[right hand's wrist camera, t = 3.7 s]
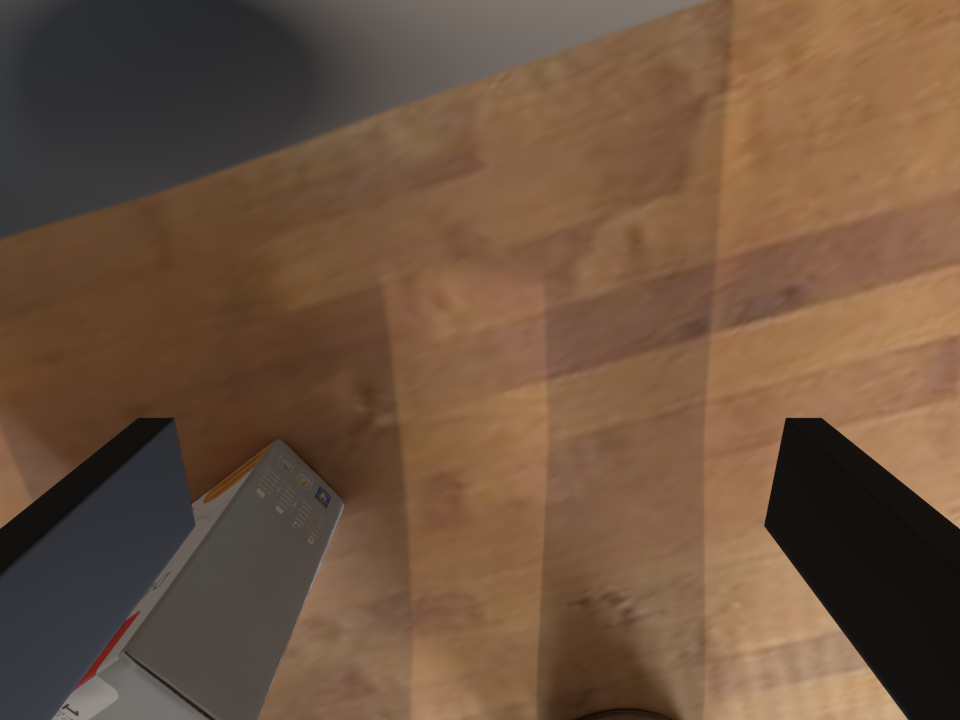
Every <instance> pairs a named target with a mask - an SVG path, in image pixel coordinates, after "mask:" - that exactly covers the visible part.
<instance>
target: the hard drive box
mask: <svg viewBox="0 0 960 720" xmlns="http://www.w3.org/2000/svg"><path fill="white" fill-rule="evenodd" d="M343 503H344V501H343V499H342V498H340V497H339V495H338V494H337V493H336V492H335V491H334V490H332V489H331V488H330V487H329V486H328V485H327V484H326V483H325V482H324V481H323V480H322V479H321V478H320V477H319V476H318V475H317V474H316V473H315V472H314V471H313V470H312V469H311V468H310V467H309V466H308V465H307V464H306V463H305V462H304V461H303V460H302V459H301V458H300V457H299V456H298V455H297V454H296V453H295V452H294V451H293V450H292V449H291V448H289V447H288V446H287V445H286V444H285V443H284V442H283V441H282V440H281V439H276V440H275V441H273V442H272V443H270V444H269V445H268V446H266V447H265V448H264V449H263V450H261V451H260V452H259V453H257V454H256V455H255V456H254V457H252V458H251V459H249V460H248V461H247V462H245V463H244V464H243V465H242V466H240V467H239V468H238V469H236V470H235V471H234V472H233V473H231V474H230V475H229V476H228V477H226V478H225V479H224V480H222V481H221V482H220V483H218V484H217V485H216V486H215V487H213V488H212V489H211V490H209V491H208V492H207V493H205V494H204V495H203V496H201V497H200V498H199V499H198V500H196V501H195V502H194V503H192V504H191V505H192V510H193V515H194V520H195V525H196V526H195V528H194V529H193V530H192V532H191V533H190V534H189V536H188V537H187V538H186V540H185V541H184V542H183V544H182V545H181V546H180V548H179V549H178V550H177V552H176V553H175V555H174V556H173V557H172V559H171V560H170V561H169V563H168V564H167V565H166V567H165V568H164V569H163V571H162V572H161V573H160V575H159V576H158V577H157V579H156V580H155V581H154V583H153V584H152V585H151V587H150V588H149V589H148V591H147V592H146V594H145V595H144V596H143V598H142V599H141V600H140V602H139V603H138V604H137V606H136V607H135V608H134V610H133V611H132V612H131V614H130V615H129V616H128V618H127V619H126V620H125V622H124V623H123V624H122V626H121V627H120V629H119V630H118V631H117V633H116V634H115V635H114V637H113V638H112V639H111V641H110V642H109V643H108V645H107V646H106V647H105V649H104V650H103V651H102V653H101V654H100V655H99V657H98V658H97V659H96V661H95V662H94V663H93V665H92V666H91V668H90V669H89V670H88V672H87V673H86V674H85V676H84V677H83V678H82V680H81V681H80V682H79V684H78V685H77V686H76V688H75V689H74V690H73V692H72V693H71V694H70V696H69V697H68V698H67V700H66V701H65V703H64V704H63V705H62V707H61V708H60V709H59V711H58V712H57V713H56V715H55V716H54V717H53V719H52V720H257V719H258V717H259V714H260V712H261V709H262V707H263V706H264V703H265V699H266V697H267V695H268V692H269V690H270V687H271V685H272V682H273V680H274V677H275V675H276V672H277V670H278V667H279V665H280V662H281V660H282V658H283V655H284V653H285V650H286V648H287V645H288V643H289V640H290V638H291V635H292V633H293V631H294V628H295V626H296V623H297V621H298V619H299V616H300V614H301V611H302V609H303V607H304V604H305V602H306V599H307V597H308V594H309V592H310V589H311V587H312V585H313V582H314V580H315V577H316V575H317V572H318V570H319V568H320V565H321V563H322V560H323V558H324V555H325V553H326V551H327V548H328V546H329V543H330V541H331V538H332V536H333V534H334V531H335V529H336V526H337V524H338V521H339V519H340V517H341V514H342V512H343V509H344V506H345V505H344V504H343Z"/></svg>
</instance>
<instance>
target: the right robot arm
mask: <svg viewBox="0 0 960 720" xmlns="http://www.w3.org/2000/svg"><path fill="white" fill-rule="evenodd" d="M195 526H196V525H195V520H194V515H193V510H192V505H191V500H190V495H189V490H188V485H187V480H186V475H185V470H184V465H183V460H182V455H181V450H180V445H179V440H178V435H177V430H176V425H175V420H174V418H138V419H137V420H135V421H134V422H133V423H132V424H130V425H129V426H128V427H127V428H125V429H124V430H123V431H122V432H120V433H119V434H118V435H117V436H115V437H114V438H113V439H112V440H110V441H109V442H108V443H107V444H105V445H104V446H103V447H102V448H100V449H99V450H98V451H97V452H96V453H94V454H93V455H92V456H91V457H89V458H88V459H87V460H86V461H84V462H83V463H82V464H81V465H79V466H78V467H77V468H76V469H74V470H73V471H72V472H71V473H69V474H68V475H67V476H66V477H64V478H63V479H62V480H61V481H59V482H58V483H57V484H56V485H54V486H53V487H52V488H51V489H49V490H48V491H47V492H46V493H44V494H43V495H42V496H41V497H40V498H38V499H37V500H36V501H35V502H33V503H32V504H31V505H30V506H28V507H27V508H26V509H25V510H23V511H22V512H21V513H20V514H18V515H17V516H16V517H15V518H13V519H12V520H11V521H10V522H8V523H7V524H6V525H5V526H3V527H2V528H1V529H0V720H52V719H53V717H54V716H55V715H56V713H57V712H58V711H59V709H60V708H61V707H62V705H63V704H64V703H65V701H66V700H67V698H68V697H69V696H70V694H71V693H72V692H73V690H74V689H75V688H76V686H77V685H78V684H79V682H80V681H81V680H82V678H83V677H84V676H85V674H86V673H87V672H88V670H89V669H90V668H91V666H92V665H93V663H94V662H95V661H96V659H97V658H98V657H99V655H100V654H101V653H102V651H103V650H104V649H105V647H106V646H107V645H108V643H109V642H110V641H111V639H112V638H113V637H114V635H115V634H116V633H117V631H118V630H119V629H120V627H121V626H122V624H123V623H124V622H125V620H126V619H127V618H128V616H129V615H130V614H131V612H132V611H133V610H134V608H135V607H136V606H137V604H138V603H139V602H140V600H141V599H142V598H143V596H144V595H145V594H146V592H147V591H148V589H149V588H150V587H151V585H152V584H153V583H154V581H155V580H156V579H157V577H158V576H159V575H160V573H161V572H162V571H163V569H164V568H165V567H166V565H167V564H168V563H169V561H170V560H171V559H172V557H173V556H174V555H175V553H176V552H177V550H178V549H179V548H180V546H181V545H182V544H183V542H184V541H185V540H186V538H187V537H188V536H189V534H190V533H191V532H192V530H193V529H194V528H195ZM764 526H765V528H766V529H767V530H768V532H769V533H770V534H771V536H772V537H773V538H774V540H775V541H776V542H777V544H778V545H779V546H780V548H781V549H782V550H783V552H784V553H785V555H786V556H787V557H788V559H789V560H790V561H791V563H792V564H793V565H794V567H795V568H796V569H797V571H798V572H799V573H800V575H801V576H802V577H803V579H804V580H805V581H806V583H807V584H808V585H809V587H810V588H811V589H812V591H813V592H814V594H815V595H816V596H817V598H818V599H819V600H820V602H821V603H822V604H823V606H824V607H825V608H826V610H827V611H828V612H829V614H830V615H831V616H832V618H833V619H834V620H835V622H836V623H837V624H838V626H839V627H840V629H841V630H842V631H843V633H844V634H845V635H846V637H847V638H848V639H849V641H850V642H851V643H852V645H853V646H854V647H855V649H856V650H857V651H858V653H859V654H860V655H861V657H862V658H863V659H864V661H865V662H866V663H867V665H868V666H869V668H870V669H871V670H872V672H873V673H874V674H875V676H876V677H877V678H878V680H879V681H880V682H881V684H882V685H883V686H884V688H885V689H886V690H887V692H888V693H889V694H890V696H891V697H892V698H893V700H894V701H895V703H896V704H897V705H898V707H899V708H900V709H901V711H902V712H903V713H904V715H905V716H906V717H907V719H908V720H960V529H959V528H958V527H957V526H955V525H954V524H953V523H952V522H950V521H949V520H948V519H947V518H945V517H944V516H943V515H942V514H940V513H939V512H938V511H937V510H935V509H934V508H933V507H932V506H930V505H929V504H928V503H927V502H925V501H924V500H923V499H922V498H920V497H919V496H918V495H917V494H916V493H914V492H913V491H912V490H911V489H909V488H908V487H907V486H906V485H904V484H903V483H902V482H901V481H899V480H898V479H897V478H896V477H894V476H893V475H892V474H891V473H889V472H888V471H887V470H886V469H884V468H883V467H882V466H881V465H879V464H878V463H877V462H876V461H874V460H873V459H872V458H871V457H869V456H868V455H867V454H866V453H864V452H863V451H862V450H861V449H860V448H858V447H857V446H856V445H855V444H853V443H852V442H851V441H850V440H848V439H847V438H846V437H845V436H843V435H842V434H841V433H840V432H838V431H837V430H836V429H835V428H833V427H832V426H831V425H830V424H828V423H827V422H826V421H825V420H823V419H822V418H786V420H785V425H784V430H783V435H782V440H781V445H780V450H779V455H778V460H777V465H776V470H775V475H774V480H773V485H772V490H771V495H770V500H769V505H768V510H767V515H766V520H765V525H764ZM581 720H670V719H668V718H666V717H663V716H660V715H658V714H654V713H650V712H645V711H637V710H616V711H608V712H603V713H598V714H594V715H591V716H588V717H586V718H583V719H581Z"/></svg>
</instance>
